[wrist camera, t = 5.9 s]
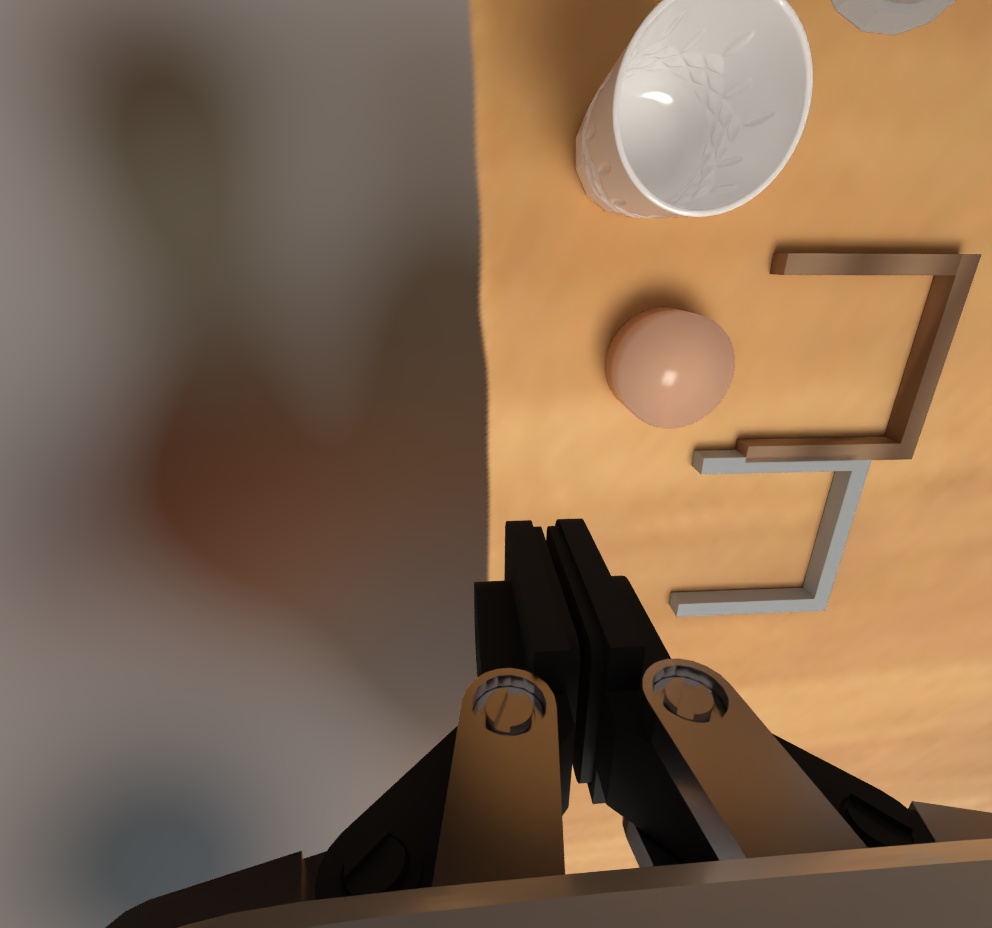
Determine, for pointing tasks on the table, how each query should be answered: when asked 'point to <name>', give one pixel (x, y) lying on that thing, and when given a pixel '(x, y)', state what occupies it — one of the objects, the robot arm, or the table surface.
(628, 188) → the white cup
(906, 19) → the french press
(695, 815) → the robot arm
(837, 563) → the frame
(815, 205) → the table surface
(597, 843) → the table surface
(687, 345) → the beige flattened dome
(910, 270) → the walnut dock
